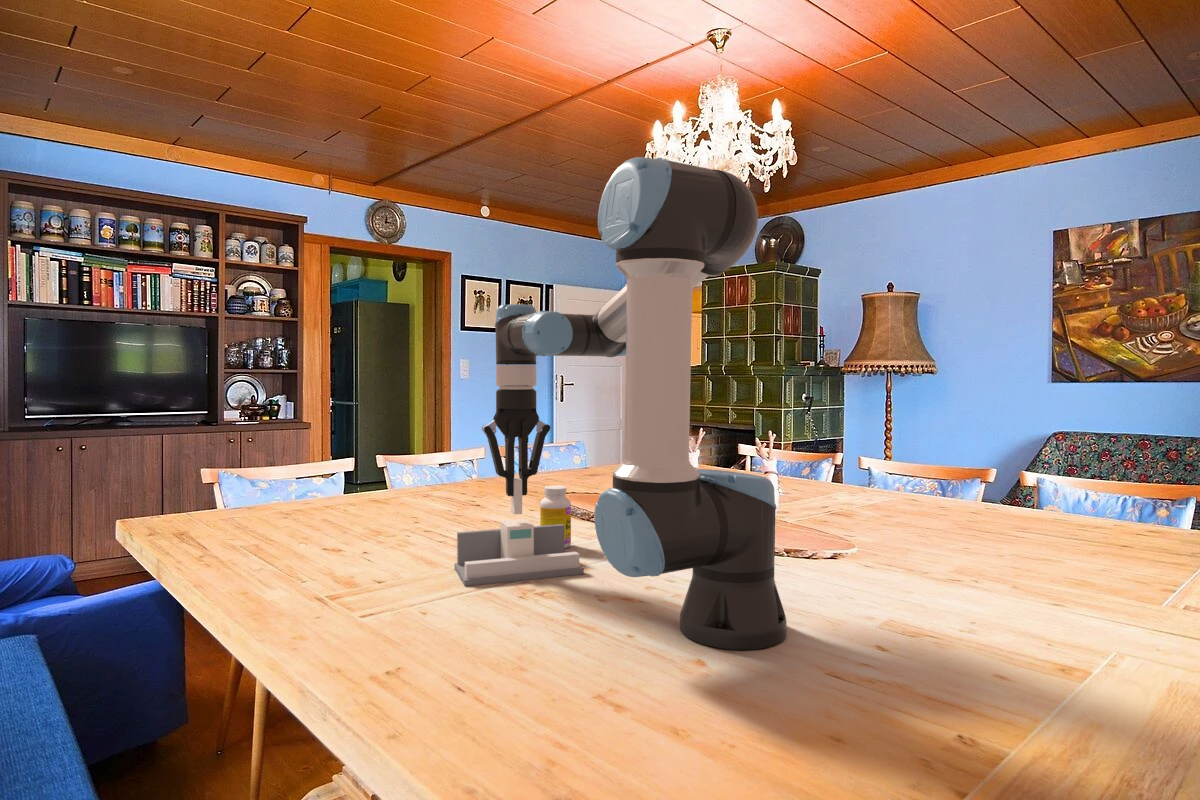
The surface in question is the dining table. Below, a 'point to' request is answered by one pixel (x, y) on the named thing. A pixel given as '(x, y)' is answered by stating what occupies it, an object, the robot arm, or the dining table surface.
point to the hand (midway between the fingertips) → (516, 512)
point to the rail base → (493, 551)
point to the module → (517, 538)
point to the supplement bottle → (556, 510)
